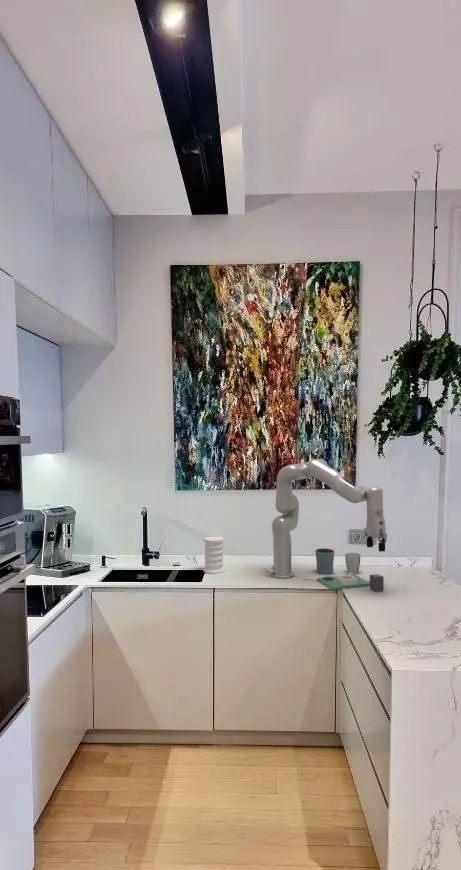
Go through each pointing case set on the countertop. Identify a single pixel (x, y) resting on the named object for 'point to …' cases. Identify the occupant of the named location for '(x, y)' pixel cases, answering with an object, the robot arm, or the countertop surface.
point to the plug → (377, 583)
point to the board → (343, 581)
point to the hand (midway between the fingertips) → (375, 549)
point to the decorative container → (213, 555)
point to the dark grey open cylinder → (324, 561)
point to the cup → (352, 562)
